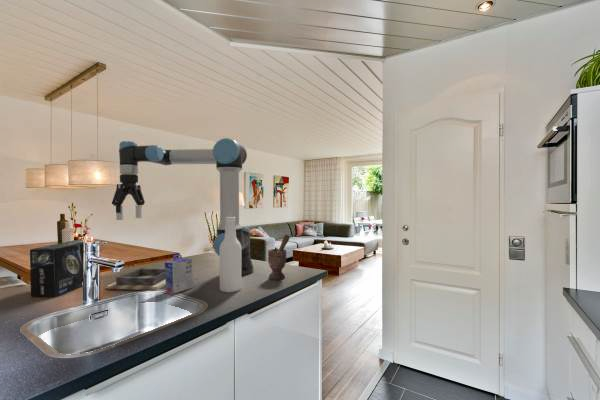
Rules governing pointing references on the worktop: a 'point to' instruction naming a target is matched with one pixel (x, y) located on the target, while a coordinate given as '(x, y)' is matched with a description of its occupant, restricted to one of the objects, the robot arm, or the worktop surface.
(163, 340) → the worktop surface
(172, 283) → the ink cartridge box
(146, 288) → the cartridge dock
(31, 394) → the worktop surface
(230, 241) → the alcohol
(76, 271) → the box
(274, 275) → the mortar and pestle
